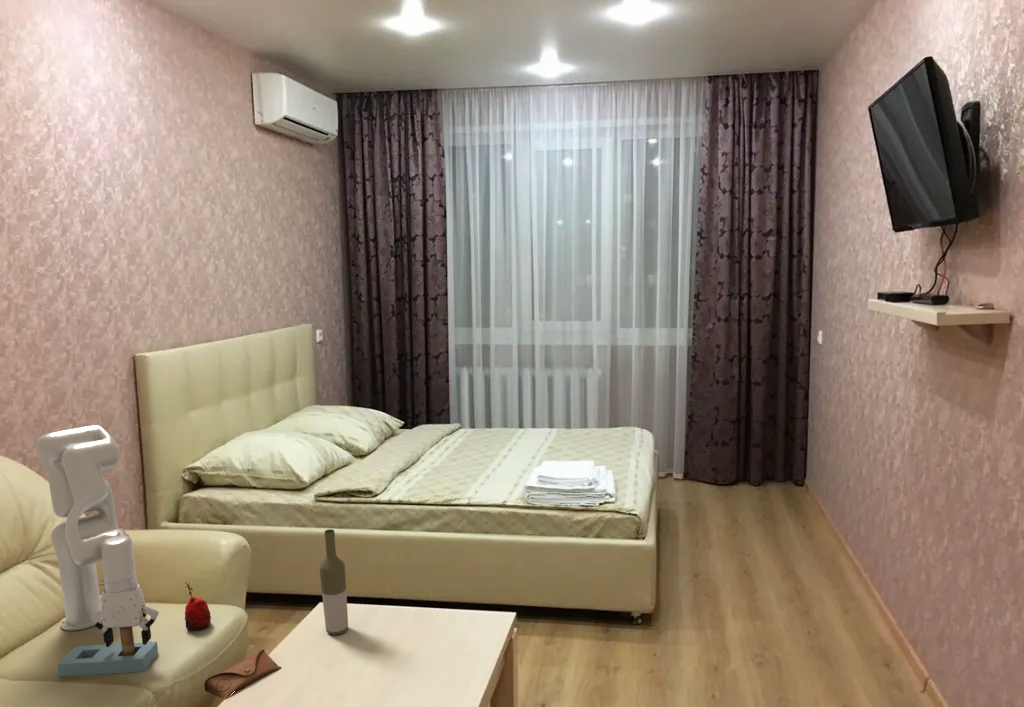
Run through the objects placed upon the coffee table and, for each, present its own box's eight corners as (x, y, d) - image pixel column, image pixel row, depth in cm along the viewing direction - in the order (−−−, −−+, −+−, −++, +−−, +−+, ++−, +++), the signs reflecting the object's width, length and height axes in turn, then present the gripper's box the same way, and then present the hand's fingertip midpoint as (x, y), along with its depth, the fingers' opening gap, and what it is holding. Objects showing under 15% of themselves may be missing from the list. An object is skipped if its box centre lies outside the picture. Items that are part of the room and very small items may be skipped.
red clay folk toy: (216, 624, 227) (211, 576, 225) (195, 635, 221) (190, 586, 219) (201, 618, 231) (196, 571, 229) (179, 628, 225) (174, 580, 223)
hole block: (76, 658, 211) (75, 646, 210) (158, 653, 212) (156, 641, 211) (59, 676, 202) (57, 664, 201) (144, 671, 203) (142, 659, 202)
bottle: (351, 633, 218) (344, 532, 214) (326, 639, 216) (318, 537, 211) (347, 622, 225) (339, 524, 220) (323, 628, 222) (314, 529, 218)
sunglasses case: (224, 701, 188) (214, 675, 189) (211, 706, 192) (201, 681, 193) (284, 666, 202) (274, 642, 203) (270, 672, 206) (261, 649, 207)
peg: (127, 660, 208) (121, 619, 207) (138, 660, 208) (133, 618, 207) (122, 666, 205) (116, 624, 204) (133, 666, 206) (128, 623, 204)
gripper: (80, 591, 200) (88, 652, 202) (148, 587, 200) (155, 648, 203) (94, 579, 207) (102, 638, 209) (159, 575, 208) (166, 634, 210)
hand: (128, 643), depth 206 cm, fingers open, 9 cm apart
